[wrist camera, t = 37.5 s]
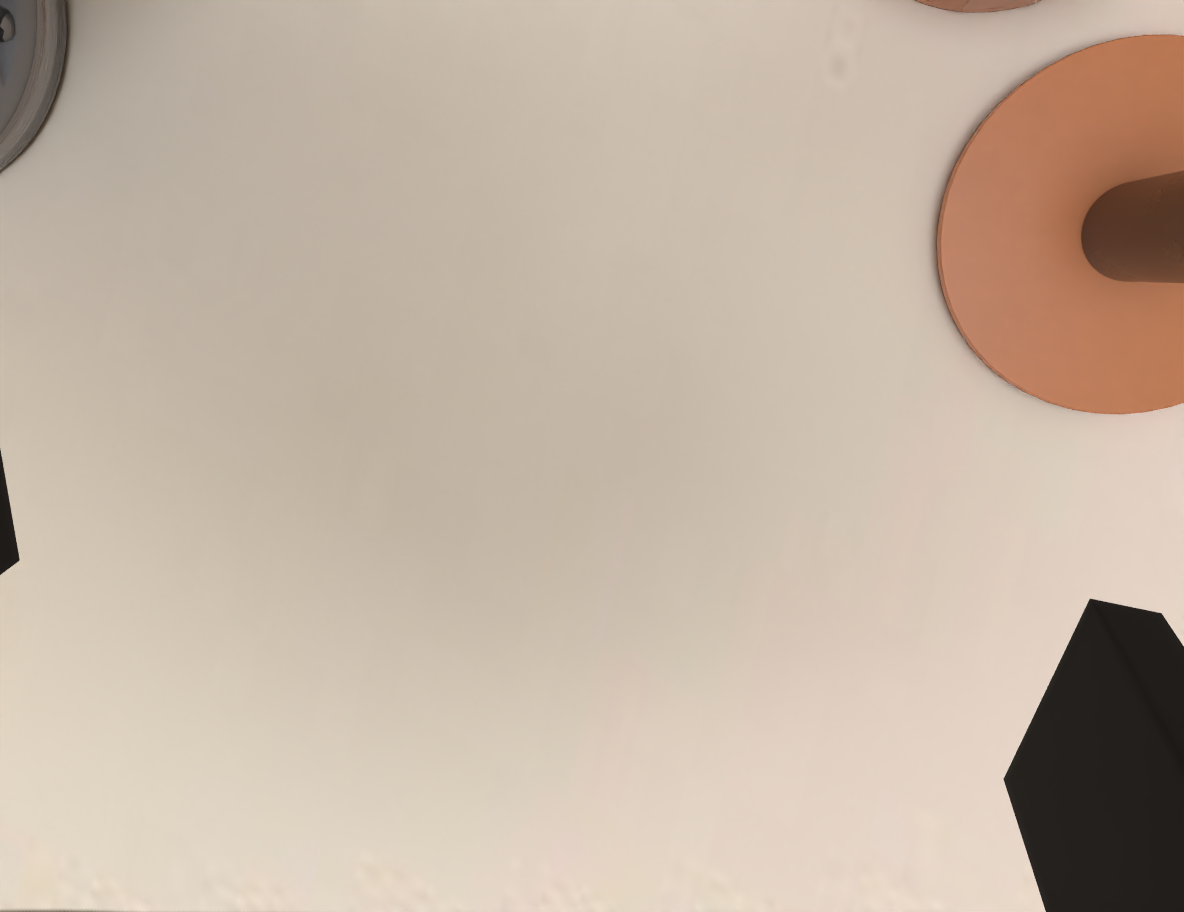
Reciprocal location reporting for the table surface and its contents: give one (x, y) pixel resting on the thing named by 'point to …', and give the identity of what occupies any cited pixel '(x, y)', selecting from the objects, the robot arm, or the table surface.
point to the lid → (1077, 231)
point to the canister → (977, 4)
